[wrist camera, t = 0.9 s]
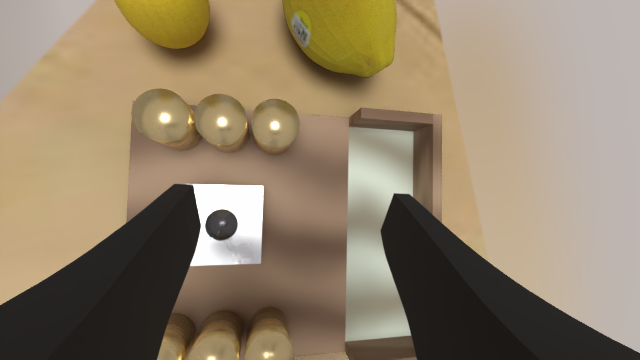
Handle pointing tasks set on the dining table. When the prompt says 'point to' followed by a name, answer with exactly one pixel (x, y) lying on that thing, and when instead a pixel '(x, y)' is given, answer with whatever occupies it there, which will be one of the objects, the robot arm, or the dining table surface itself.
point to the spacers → (227, 136)
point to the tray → (310, 226)
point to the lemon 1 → (167, 20)
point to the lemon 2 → (344, 33)
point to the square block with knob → (229, 224)
